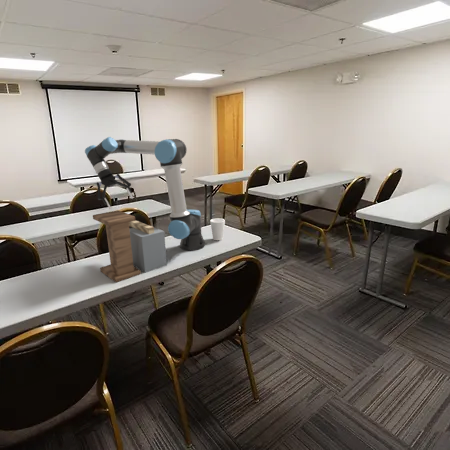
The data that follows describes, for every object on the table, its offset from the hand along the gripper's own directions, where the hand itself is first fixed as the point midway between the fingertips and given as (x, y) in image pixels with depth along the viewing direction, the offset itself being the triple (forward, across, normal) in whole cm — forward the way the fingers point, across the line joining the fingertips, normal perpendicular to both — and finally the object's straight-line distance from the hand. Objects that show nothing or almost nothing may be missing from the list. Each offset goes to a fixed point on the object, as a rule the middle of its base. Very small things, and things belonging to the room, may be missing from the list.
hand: (121, 203), depth 183 cm
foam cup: (+47, -44, -7) cm, 64 cm away
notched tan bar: (+19, +1, +16) cm, 25 cm away
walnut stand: (+35, +20, +16) cm, 43 cm away
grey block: (+38, +6, +12) cm, 40 cm away
